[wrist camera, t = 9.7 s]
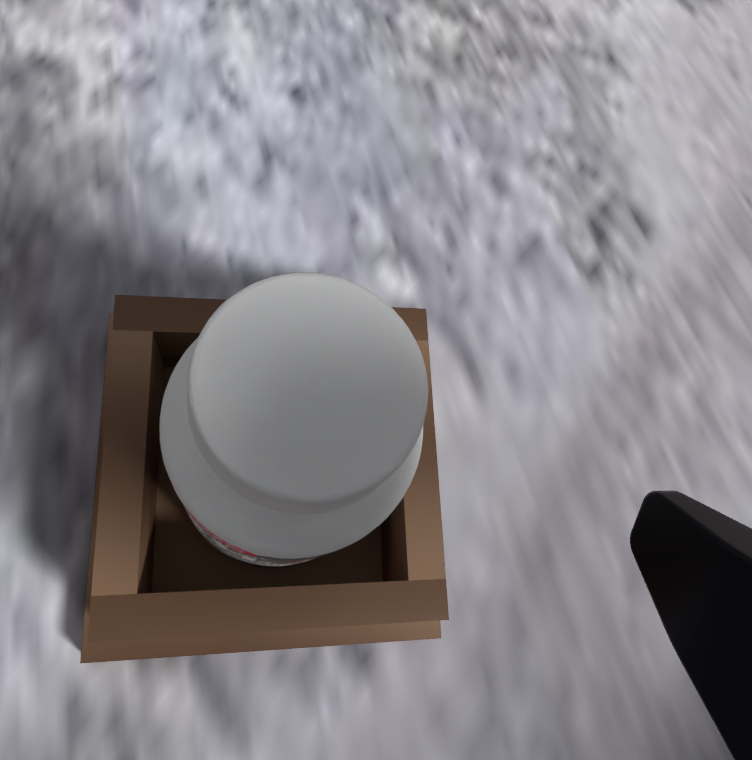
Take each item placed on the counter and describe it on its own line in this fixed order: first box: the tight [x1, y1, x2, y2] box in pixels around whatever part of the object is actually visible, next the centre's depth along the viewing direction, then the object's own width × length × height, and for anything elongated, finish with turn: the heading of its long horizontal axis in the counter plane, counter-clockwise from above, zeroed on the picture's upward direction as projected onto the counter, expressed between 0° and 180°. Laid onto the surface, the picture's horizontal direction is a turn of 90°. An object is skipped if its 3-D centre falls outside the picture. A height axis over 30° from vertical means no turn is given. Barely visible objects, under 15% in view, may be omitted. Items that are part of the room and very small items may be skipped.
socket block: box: [80, 295, 449, 663], centre depth 19 cm, size 10×10×4 cm
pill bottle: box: [160, 273, 428, 568], centre depth 15 cm, size 5×5×10 cm
